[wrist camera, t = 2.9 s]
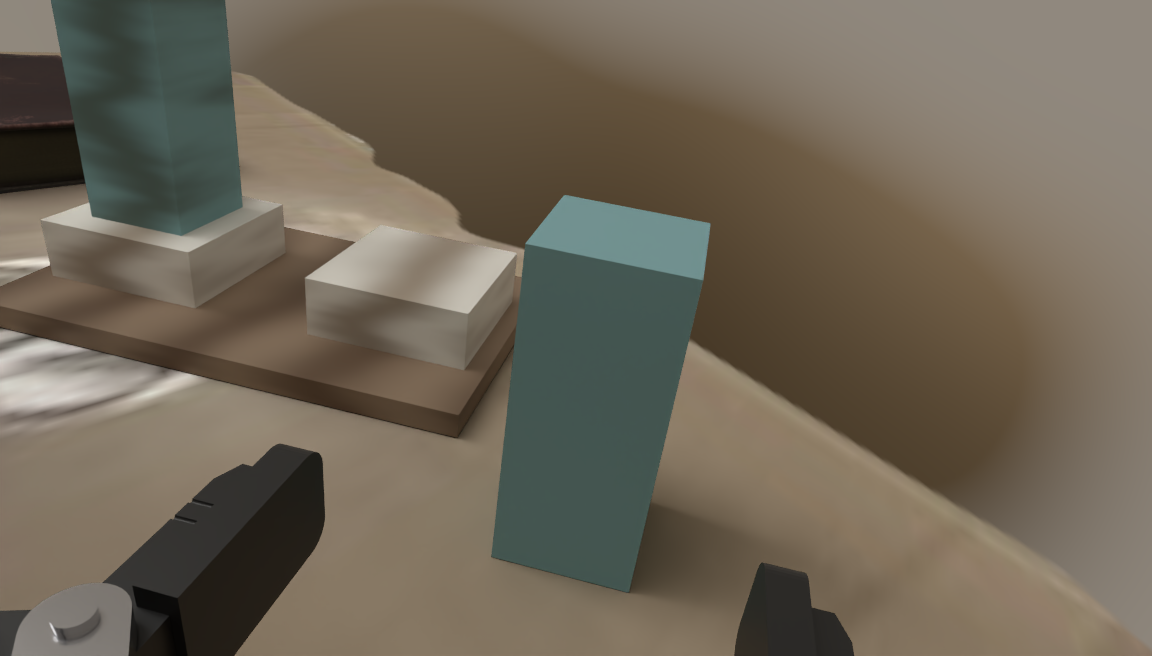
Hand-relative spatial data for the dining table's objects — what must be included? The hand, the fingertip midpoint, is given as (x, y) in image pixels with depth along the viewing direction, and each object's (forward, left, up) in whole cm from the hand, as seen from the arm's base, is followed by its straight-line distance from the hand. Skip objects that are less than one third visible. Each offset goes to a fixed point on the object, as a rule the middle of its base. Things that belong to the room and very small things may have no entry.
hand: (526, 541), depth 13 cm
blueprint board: (-18, +22, -10) cm, 31 cm away
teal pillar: (0, +11, -10) cm, 15 cm away
